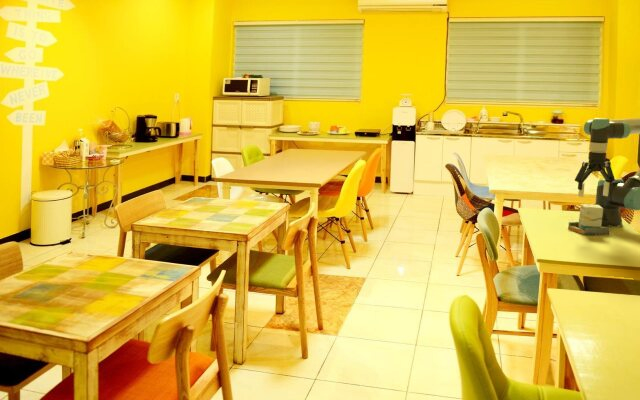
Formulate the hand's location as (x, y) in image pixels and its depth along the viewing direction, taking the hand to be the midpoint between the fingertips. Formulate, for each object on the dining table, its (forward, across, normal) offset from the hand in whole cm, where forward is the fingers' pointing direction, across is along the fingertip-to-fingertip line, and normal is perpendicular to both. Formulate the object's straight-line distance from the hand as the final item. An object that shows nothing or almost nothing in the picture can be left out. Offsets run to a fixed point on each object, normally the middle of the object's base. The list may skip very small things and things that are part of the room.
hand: (593, 196), depth 297 cm
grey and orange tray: (+17, +1, 0) cm, 17 cm away
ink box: (+16, 0, 0) cm, 16 cm away
